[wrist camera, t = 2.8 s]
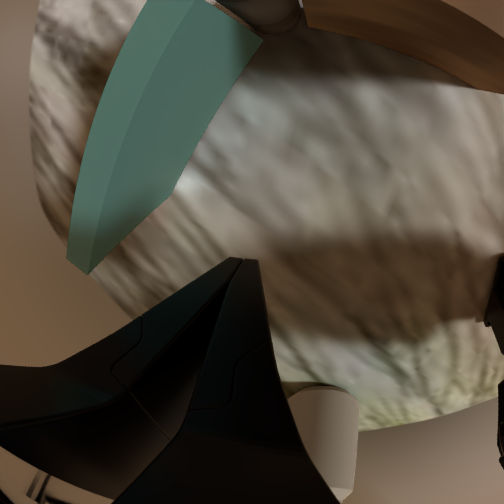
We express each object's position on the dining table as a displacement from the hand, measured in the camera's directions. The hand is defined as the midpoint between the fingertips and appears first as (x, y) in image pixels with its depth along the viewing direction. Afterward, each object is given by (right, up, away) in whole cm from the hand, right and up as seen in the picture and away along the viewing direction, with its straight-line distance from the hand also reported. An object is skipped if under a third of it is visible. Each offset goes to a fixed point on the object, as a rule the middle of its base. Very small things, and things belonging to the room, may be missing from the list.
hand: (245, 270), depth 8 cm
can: (+7, -14, +17) cm, 24 cm away
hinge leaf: (-2, +8, +4) cm, 9 cm away
